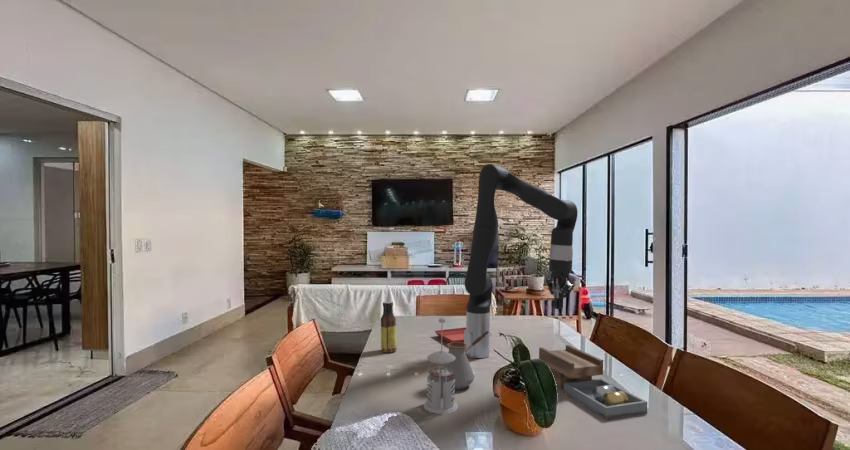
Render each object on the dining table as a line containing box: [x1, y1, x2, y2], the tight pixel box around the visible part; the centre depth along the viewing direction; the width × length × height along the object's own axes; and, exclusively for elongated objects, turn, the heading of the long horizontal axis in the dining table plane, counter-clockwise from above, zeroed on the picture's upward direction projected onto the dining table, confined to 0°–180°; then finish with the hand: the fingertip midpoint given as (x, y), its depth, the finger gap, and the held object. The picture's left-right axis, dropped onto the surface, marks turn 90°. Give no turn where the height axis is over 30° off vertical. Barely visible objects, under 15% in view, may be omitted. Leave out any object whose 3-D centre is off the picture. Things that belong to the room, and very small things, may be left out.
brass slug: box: [604, 391, 629, 406], centre depth 115 cm, size 5×4×4 cm
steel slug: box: [593, 385, 616, 401], centre depth 120 cm, size 5×4×4 cm
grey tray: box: [563, 378, 648, 420], centre depth 120 cm, size 14×18×3 cm
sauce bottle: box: [380, 301, 398, 354], centre depth 165 cm, size 7×6×20 cm
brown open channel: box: [538, 344, 604, 389], centre depth 135 cm, size 12×17×10 cm
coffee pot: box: [442, 331, 492, 390], centre depth 135 cm, size 21×12×15 cm, turn 130°
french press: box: [423, 317, 459, 415], centre depth 115 cm, size 10×12×25 cm
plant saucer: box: [434, 326, 466, 343], centre depth 184 cm, size 18×18×3 cm
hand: (558, 308), depth 140 cm, fingers closed
